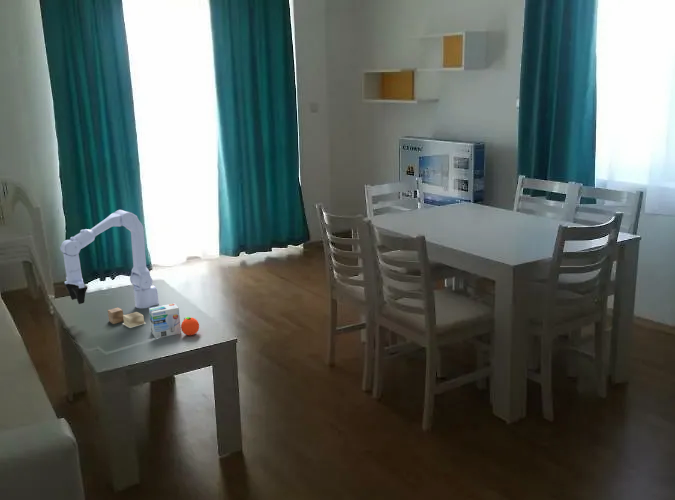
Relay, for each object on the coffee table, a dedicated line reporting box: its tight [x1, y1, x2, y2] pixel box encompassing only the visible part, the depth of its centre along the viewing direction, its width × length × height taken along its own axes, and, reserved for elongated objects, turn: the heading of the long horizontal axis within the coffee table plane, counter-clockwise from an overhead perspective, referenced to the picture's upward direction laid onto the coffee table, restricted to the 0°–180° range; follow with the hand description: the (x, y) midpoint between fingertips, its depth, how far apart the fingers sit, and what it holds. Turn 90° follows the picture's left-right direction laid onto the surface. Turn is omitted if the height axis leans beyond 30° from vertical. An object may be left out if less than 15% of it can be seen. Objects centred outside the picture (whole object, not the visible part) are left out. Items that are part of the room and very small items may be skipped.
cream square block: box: [123, 311, 145, 328], centre depth 269 cm, size 6×6×4 cm
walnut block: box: [107, 307, 124, 325], centre depth 272 cm, size 4×4×5 cm
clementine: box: [180, 316, 200, 336], centre depth 257 cm, size 8×7×7 cm
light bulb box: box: [148, 302, 182, 339], centre depth 258 cm, size 11×7×11 cm, turn 117°
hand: (77, 301), depth 271 cm, fingers open, 7 cm apart
